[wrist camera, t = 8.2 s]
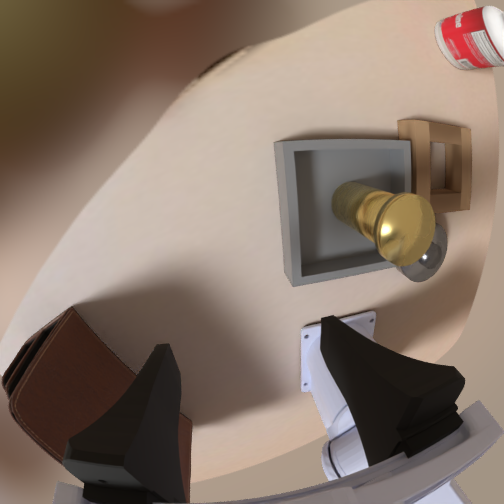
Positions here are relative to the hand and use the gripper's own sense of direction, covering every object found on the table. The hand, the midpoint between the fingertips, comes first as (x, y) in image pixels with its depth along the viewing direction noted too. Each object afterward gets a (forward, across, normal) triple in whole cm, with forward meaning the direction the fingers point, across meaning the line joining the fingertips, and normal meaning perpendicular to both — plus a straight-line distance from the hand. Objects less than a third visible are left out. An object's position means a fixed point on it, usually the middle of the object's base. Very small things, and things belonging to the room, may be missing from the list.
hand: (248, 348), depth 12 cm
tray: (+10, -10, -3) cm, 14 cm away
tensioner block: (+10, -20, -6) cm, 23 cm away
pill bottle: (+11, -26, -20) cm, 34 cm away
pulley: (+10, -18, +2) cm, 21 cm away
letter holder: (+11, +16, +13) cm, 23 cm away
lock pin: (+10, -10, -4) cm, 14 cm away
